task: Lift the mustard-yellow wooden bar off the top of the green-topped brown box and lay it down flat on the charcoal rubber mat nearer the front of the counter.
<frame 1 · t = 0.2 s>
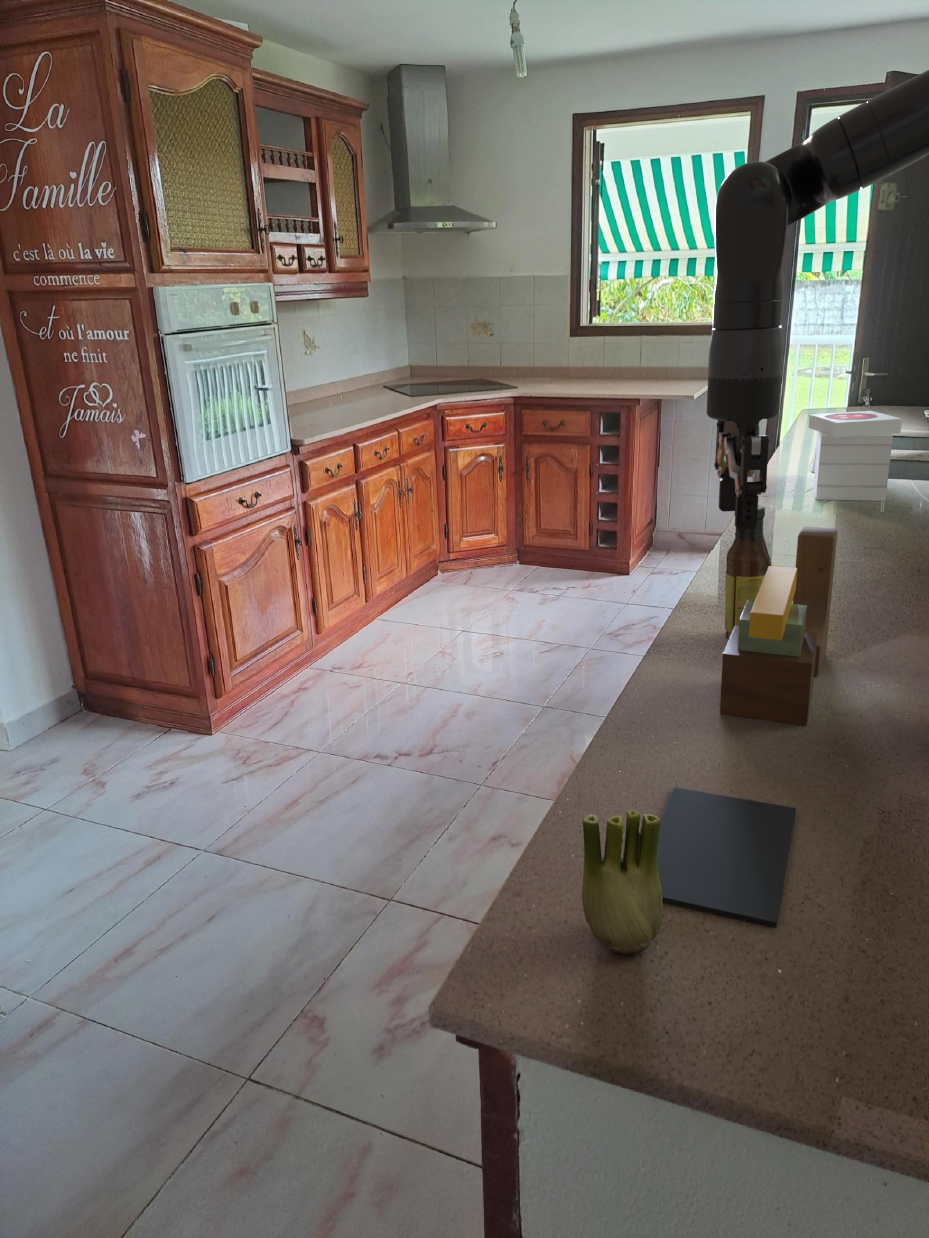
hand: (736, 519, 100), 24 cm above the counter, tool pointing down, fingers open, 8 cm apart
pizza boxes: (845, 489, 215), on the counter
wooden block: (804, 663, 120), on the counter
bar: (773, 612, 106), point 12 cm above the counter, touching green-topped brown box
mat: (718, 850, 82), on the counter
green-topped brown box: (767, 702, 110), on the counter
fennel bulb: (623, 941, 72), on the counter
sauce bottle: (745, 640, 129), on the counter
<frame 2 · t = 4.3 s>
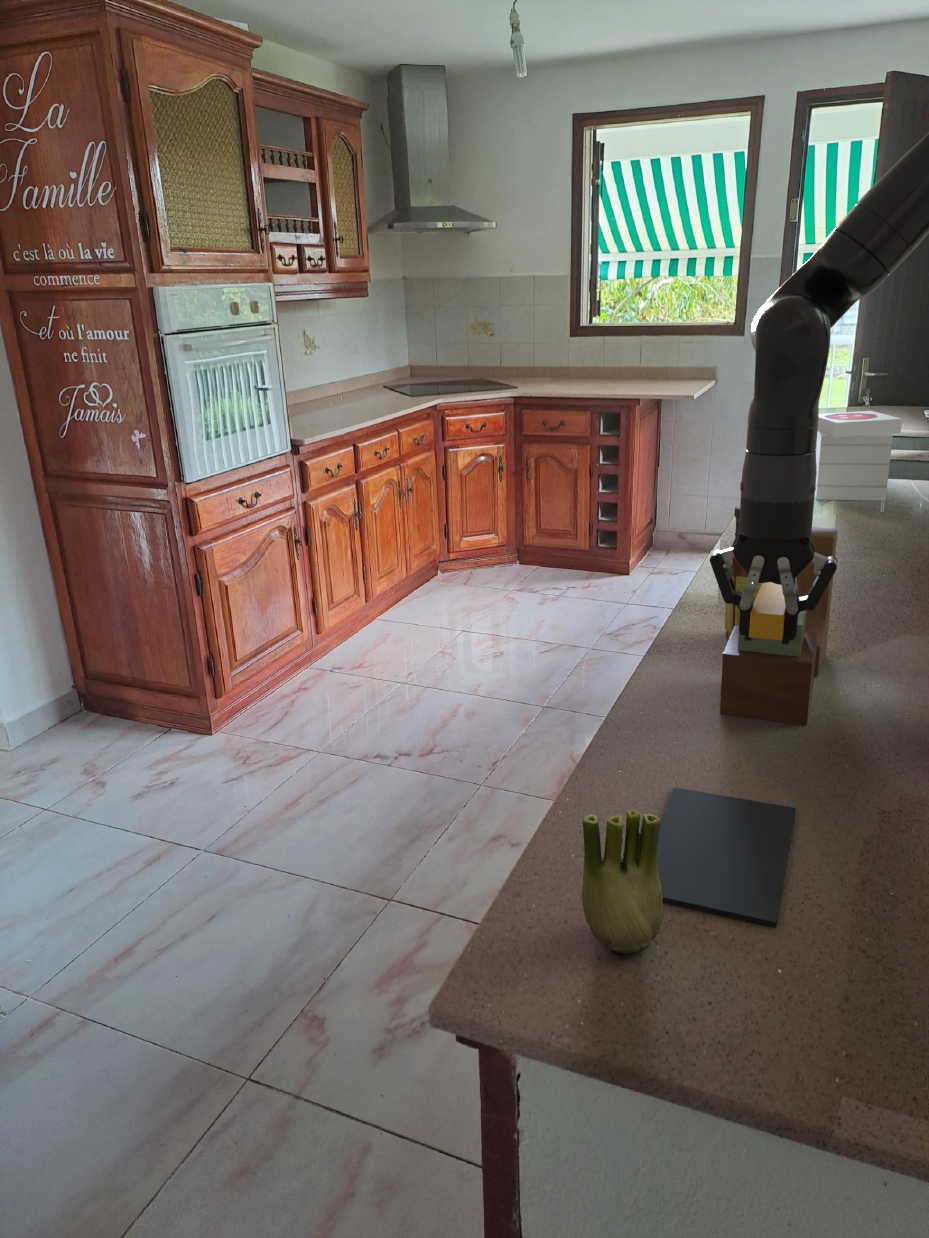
hand: (766, 639, 101), 11 cm above the counter, tool pointing down, fingers closed on bar, 3 cm apart
bar: (773, 612, 106), point 12 cm above the counter, touching gripper, green-topped brown box
everything else where it was.
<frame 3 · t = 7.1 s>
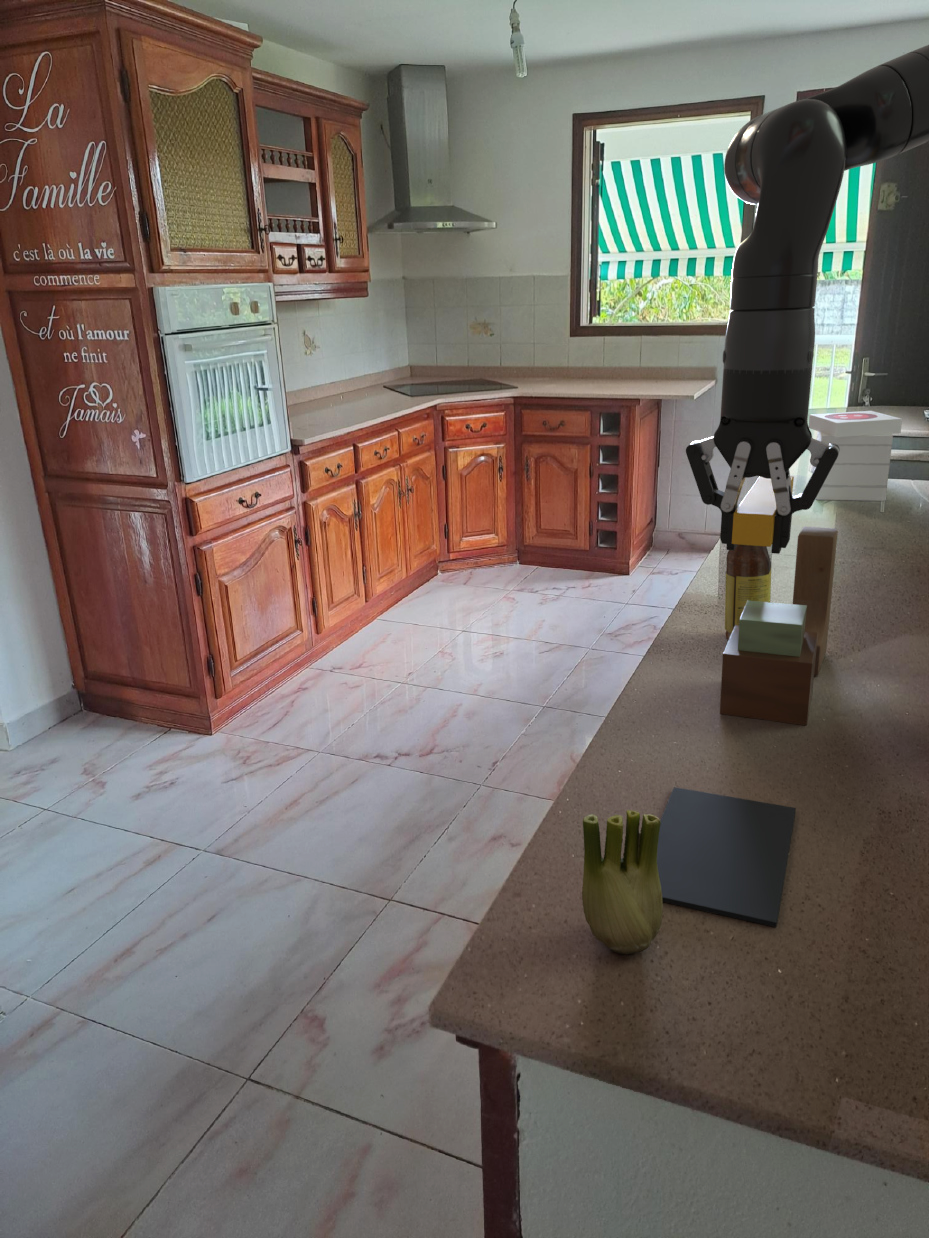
hand: (753, 549, 84), 26 cm above the counter, tool pointing down, fingers closed on bar, 3 cm apart
bar: (763, 522, 89), point 27 cm above the counter, touching gripper
everything else where it was.
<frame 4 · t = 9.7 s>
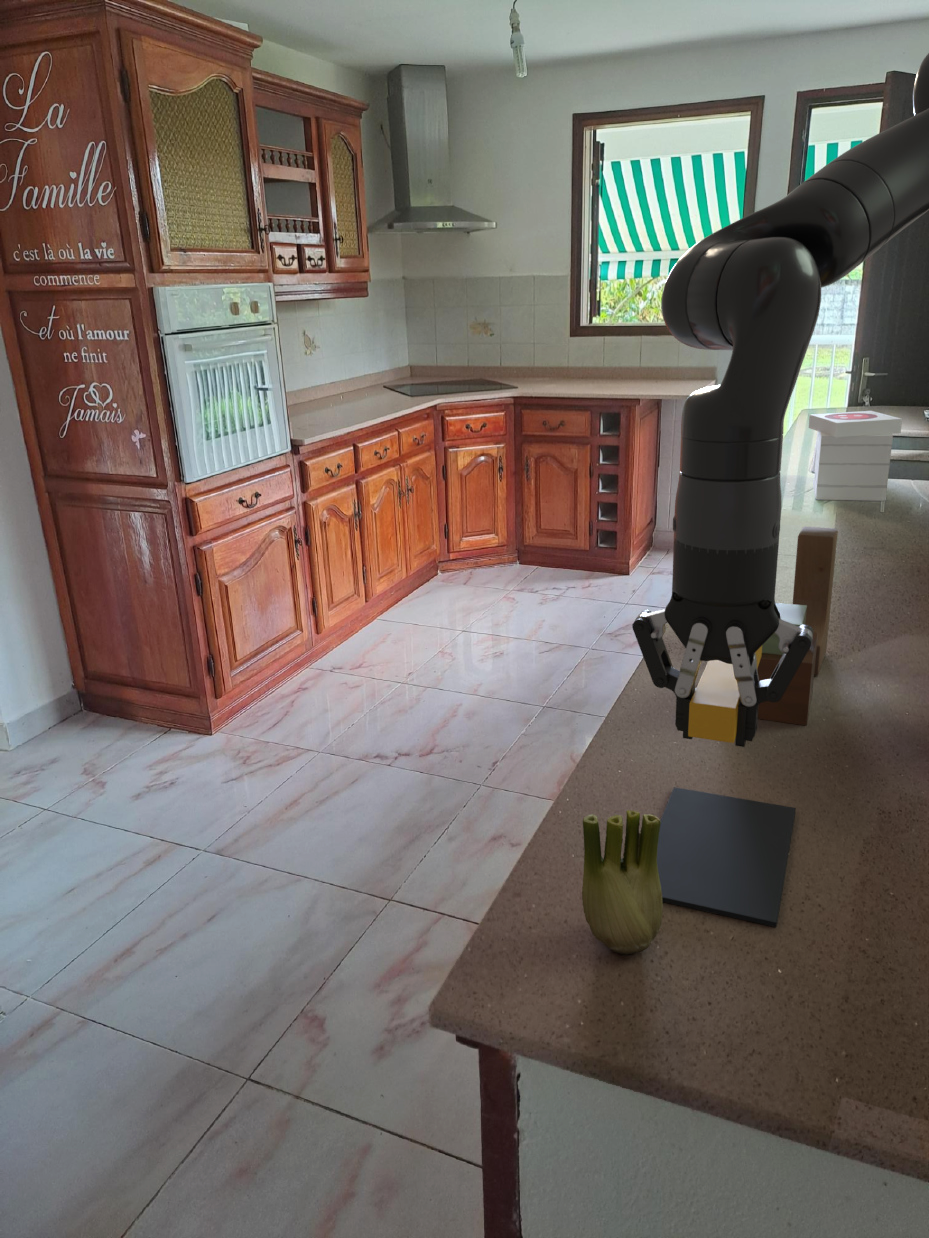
hand: (714, 737, 71), 15 cm above the counter, tool pointing down, fingers closed on bar, 3 cm apart
bar: (728, 692, 76), point 16 cm above the counter, touching gripper
everything else where it was.
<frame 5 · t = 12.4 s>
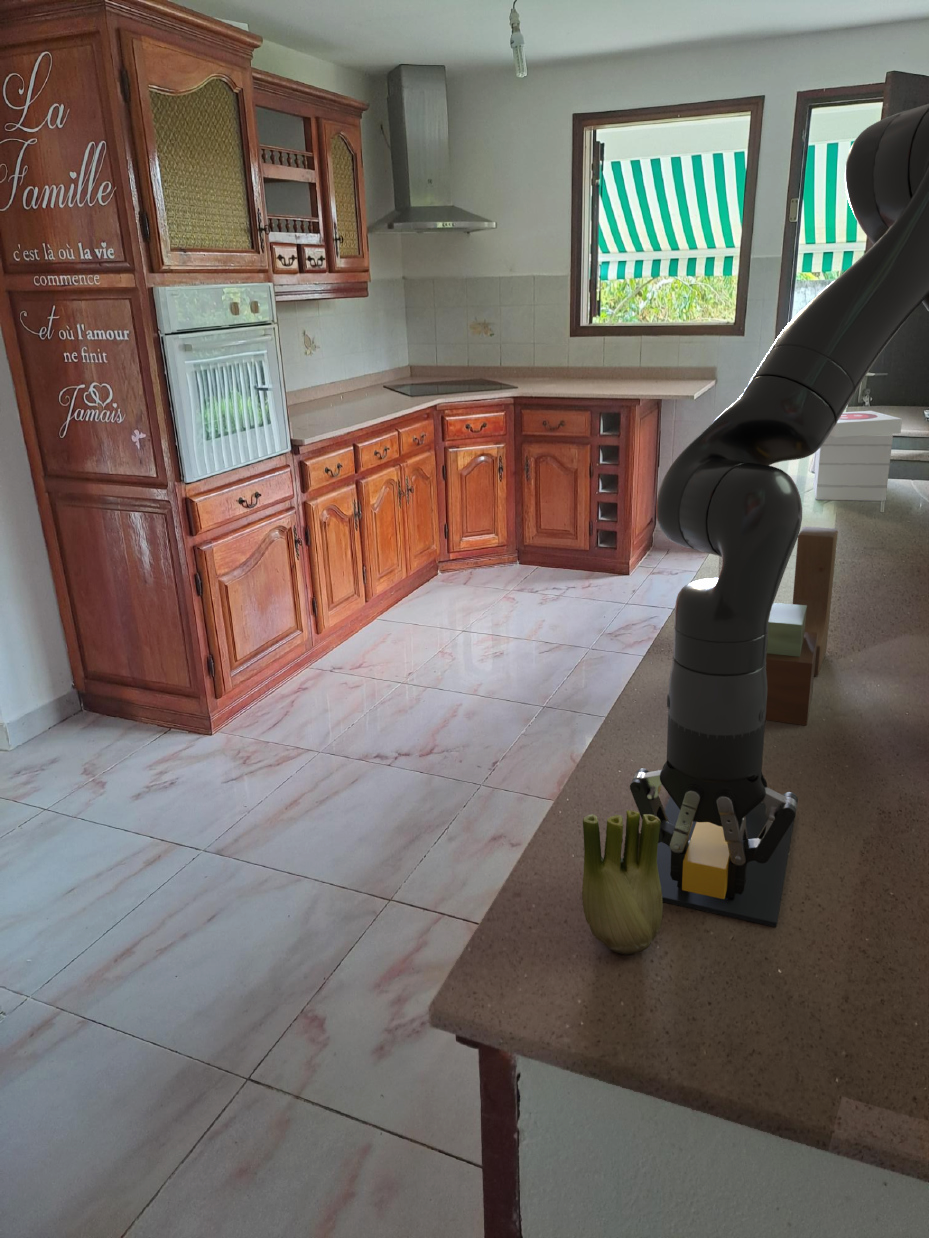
hand: (707, 887, 76), 1 cm above the counter, tool pointing down, fingers closed on bar, 3 cm apart
bar: (720, 836, 81), point 2 cm above the counter, touching gripper
everything else where it was.
when the fingers open (1 cm above the counter, at t = 15.1 s): bar drops 2 cm, resting on mat.
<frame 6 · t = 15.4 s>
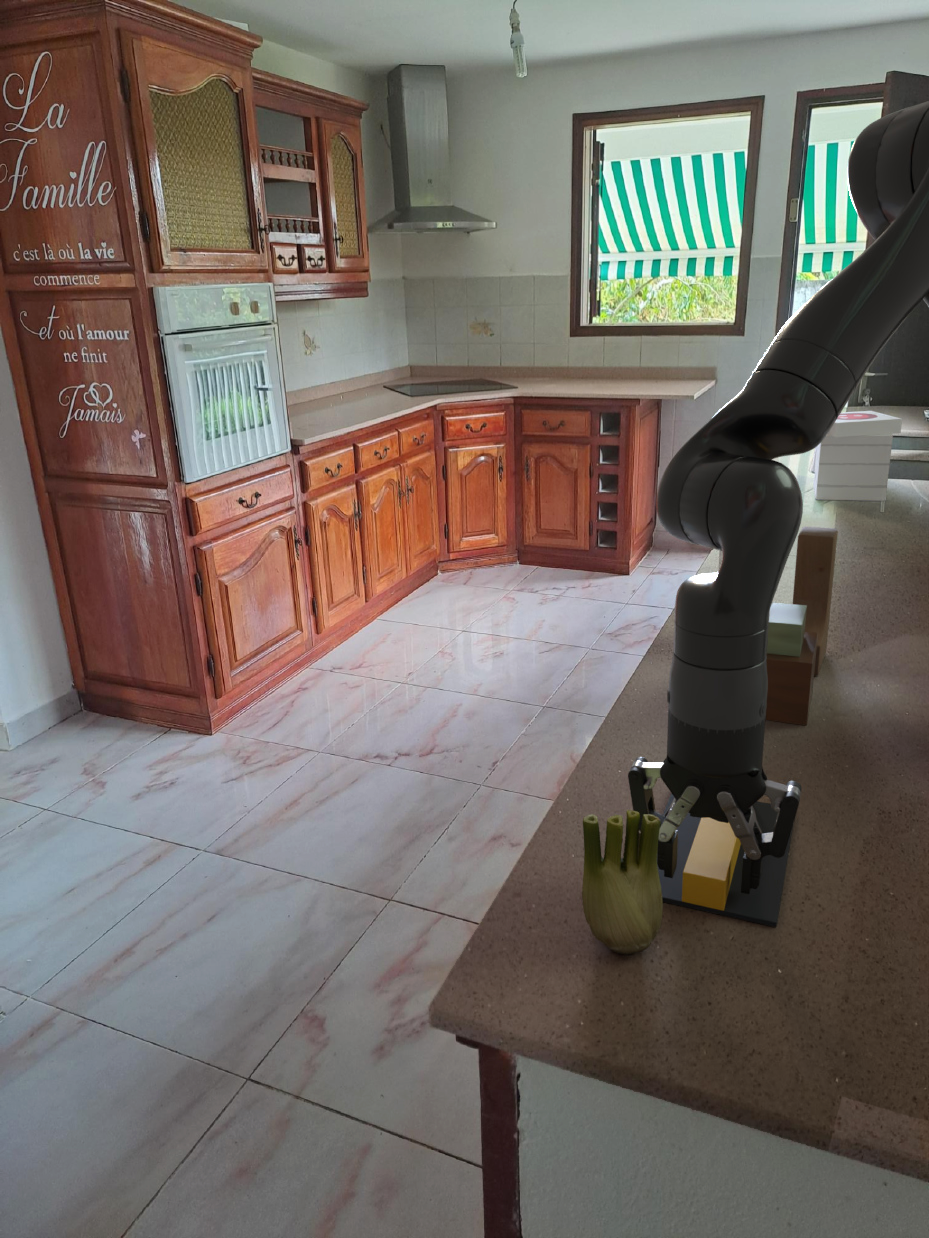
hand: (707, 879, 76), 1 cm above the counter, tool pointing down, fingers open, 6 cm apart
bar: (719, 846, 82), resting on mat
everything else where it was.
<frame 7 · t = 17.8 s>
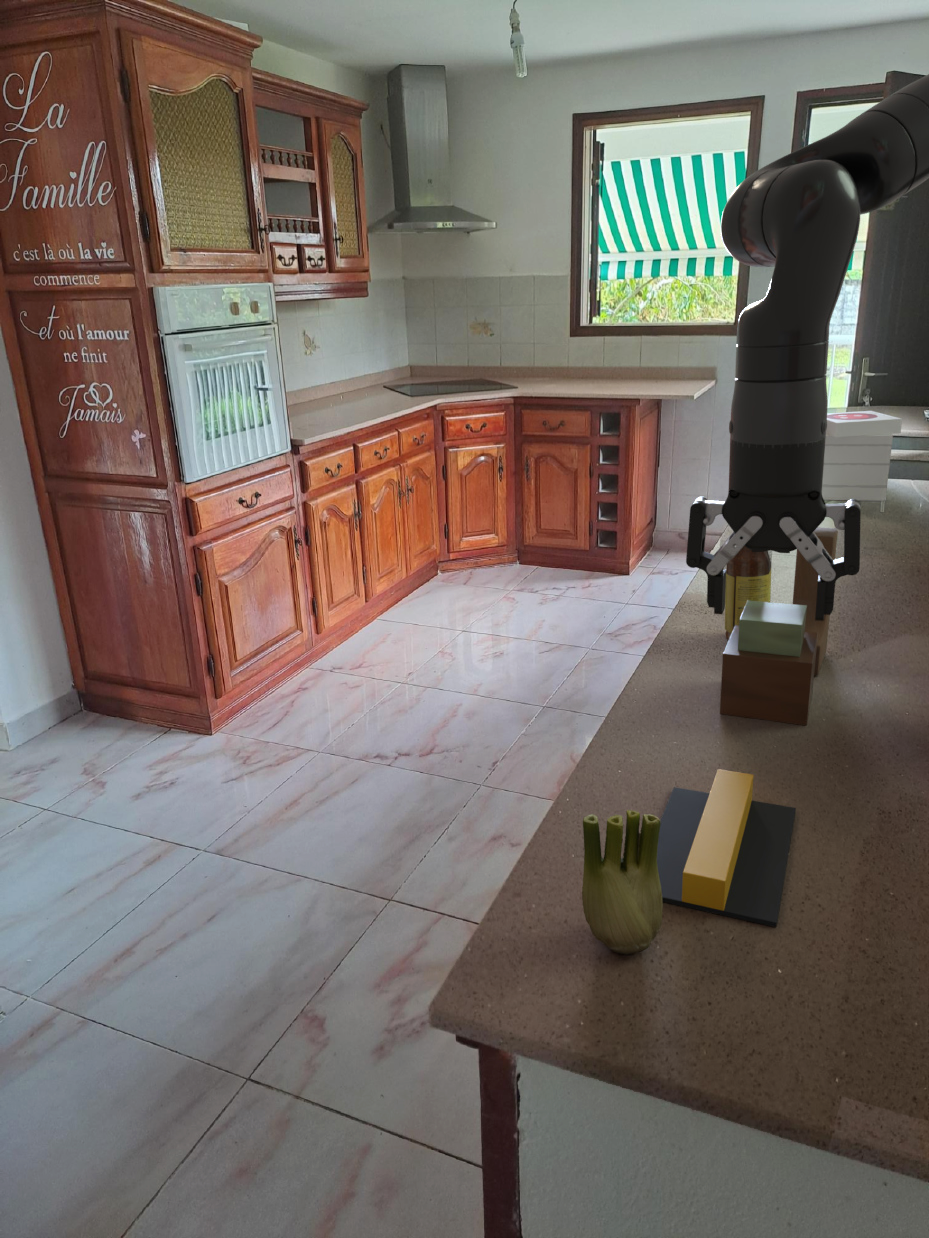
hand: (768, 614, 79), 22 cm above the counter, tool pointing down, fingers open, 8 cm apart
nothing on the counter moved.
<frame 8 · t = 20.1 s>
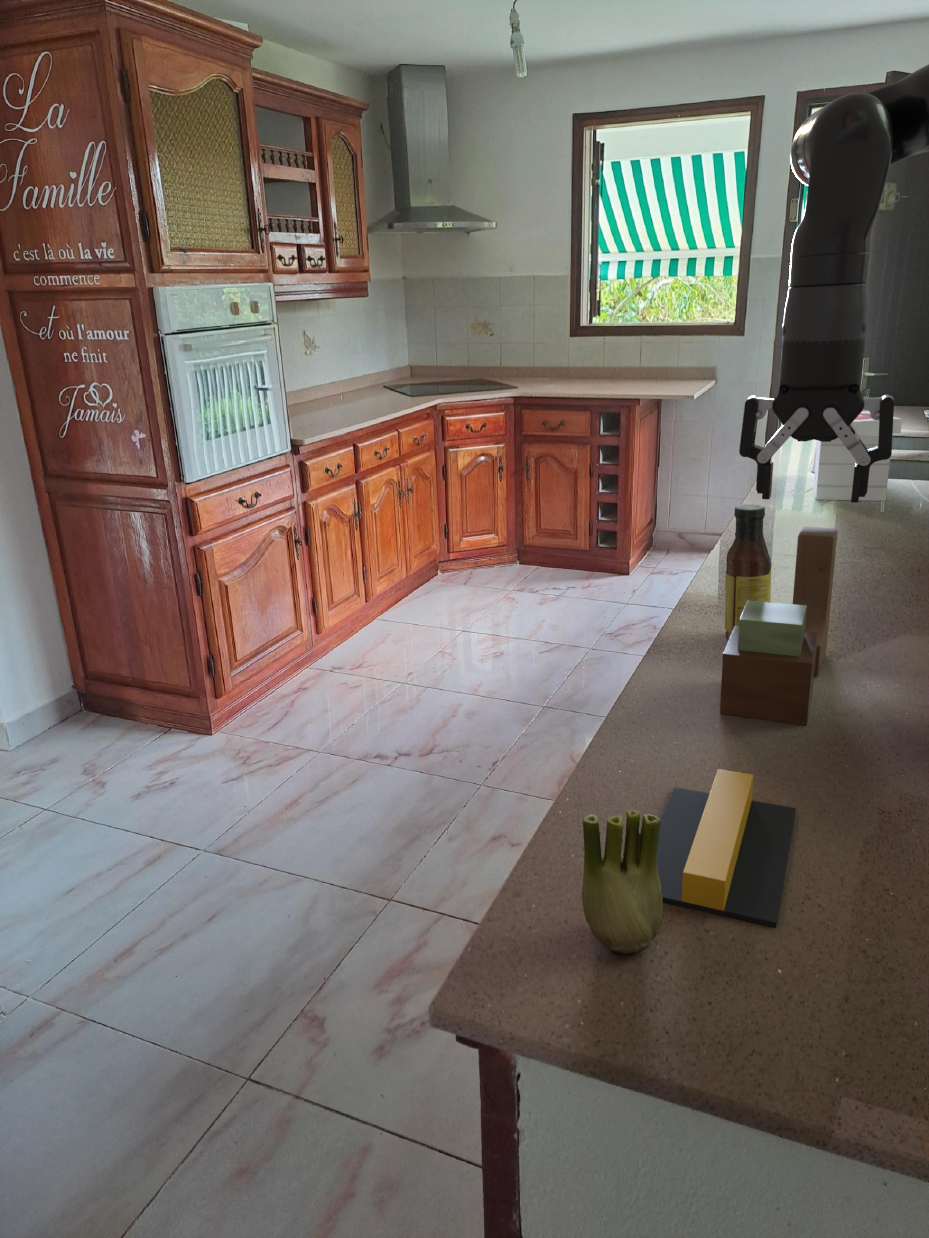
hand: (809, 499, 91), 28 cm above the counter, tool pointing down, fingers open, 8 cm apart
nothing on the counter moved.
at the end: bar inside the target area on the mat (0.1 cm from its centre), point 0.5 cm above the mat's base; bar touching mat; bar tilted 0° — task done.
